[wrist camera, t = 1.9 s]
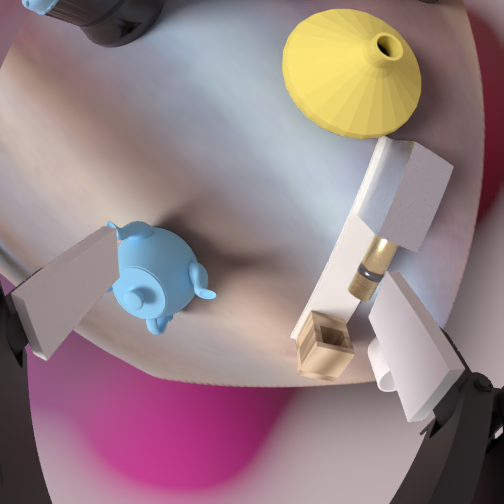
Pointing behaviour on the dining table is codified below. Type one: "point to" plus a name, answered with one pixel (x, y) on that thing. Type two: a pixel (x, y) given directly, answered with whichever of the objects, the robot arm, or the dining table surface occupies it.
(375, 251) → the slip tube
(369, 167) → the base rail
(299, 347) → the socket block
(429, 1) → the beer stein
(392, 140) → the sleeve
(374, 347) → the cup
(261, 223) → the dining table surface
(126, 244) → the teapot
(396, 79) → the vase
